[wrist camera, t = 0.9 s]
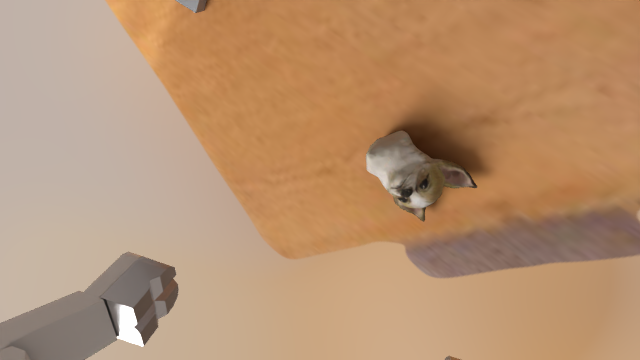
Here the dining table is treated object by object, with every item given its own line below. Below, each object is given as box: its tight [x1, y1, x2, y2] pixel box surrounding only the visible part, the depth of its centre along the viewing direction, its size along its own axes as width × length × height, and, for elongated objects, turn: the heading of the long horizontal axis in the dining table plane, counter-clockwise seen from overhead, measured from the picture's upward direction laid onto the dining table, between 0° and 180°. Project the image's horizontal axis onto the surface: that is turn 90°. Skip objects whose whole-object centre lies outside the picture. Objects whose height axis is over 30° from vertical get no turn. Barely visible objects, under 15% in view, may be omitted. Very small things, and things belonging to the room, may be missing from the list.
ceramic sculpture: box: [366, 131, 477, 222], centre depth 49 cm, size 11×9×15 cm
